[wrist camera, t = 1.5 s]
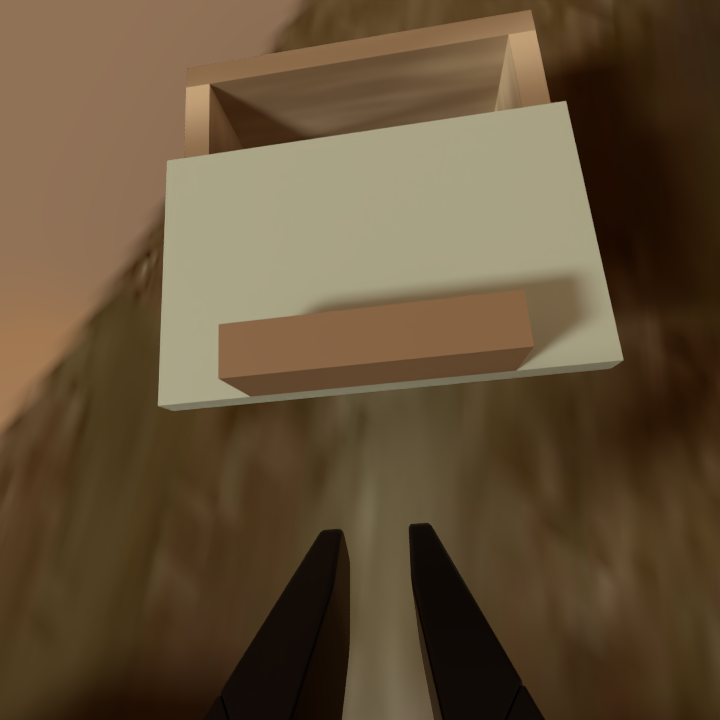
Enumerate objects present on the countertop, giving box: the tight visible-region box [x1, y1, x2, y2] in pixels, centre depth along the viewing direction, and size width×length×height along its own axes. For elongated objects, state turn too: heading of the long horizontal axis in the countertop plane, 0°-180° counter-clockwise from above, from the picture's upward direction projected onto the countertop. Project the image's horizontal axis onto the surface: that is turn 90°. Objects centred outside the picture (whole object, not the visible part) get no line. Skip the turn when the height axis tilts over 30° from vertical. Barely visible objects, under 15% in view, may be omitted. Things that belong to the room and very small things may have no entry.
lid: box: [158, 101, 623, 411], centre depth 15 cm, size 9×14×4 cm, turn 94°
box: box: [184, 10, 551, 158], centre depth 23 cm, size 9×14×8 cm, turn 94°
